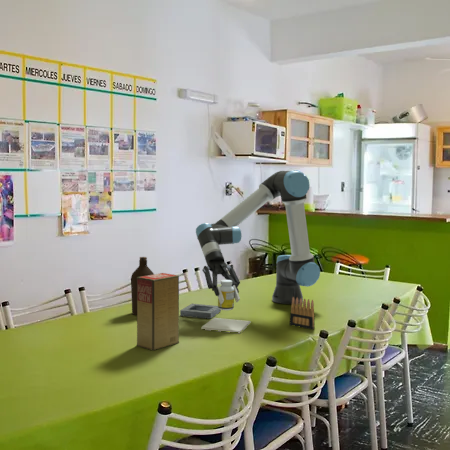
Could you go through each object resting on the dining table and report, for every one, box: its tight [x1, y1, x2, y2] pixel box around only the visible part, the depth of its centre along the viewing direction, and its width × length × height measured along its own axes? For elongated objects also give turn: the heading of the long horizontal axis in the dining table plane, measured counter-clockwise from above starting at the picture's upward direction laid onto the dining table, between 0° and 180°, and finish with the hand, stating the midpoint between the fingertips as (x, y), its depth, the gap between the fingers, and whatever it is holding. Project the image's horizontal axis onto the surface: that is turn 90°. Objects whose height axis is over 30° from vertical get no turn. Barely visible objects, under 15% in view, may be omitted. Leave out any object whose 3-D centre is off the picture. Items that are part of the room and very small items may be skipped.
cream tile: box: [201, 317, 252, 334], centre depth 229 cm, size 16×16×1 cm
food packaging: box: [136, 272, 180, 351], centre depth 202 cm, size 13×9×25 cm
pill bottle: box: [217, 279, 235, 311], centre depth 228 cm, size 6×6×12 cm
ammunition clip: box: [289, 297, 316, 330], centre depth 230 cm, size 11×2×12 cm, turn 54°
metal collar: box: [179, 303, 222, 320], centre depth 249 cm, size 14×14×2 cm
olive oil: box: [130, 256, 155, 316], centre depth 247 cm, size 11×11×25 cm
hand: (230, 301), depth 225 cm, fingers closed on pill bottle, 6 cm apart
